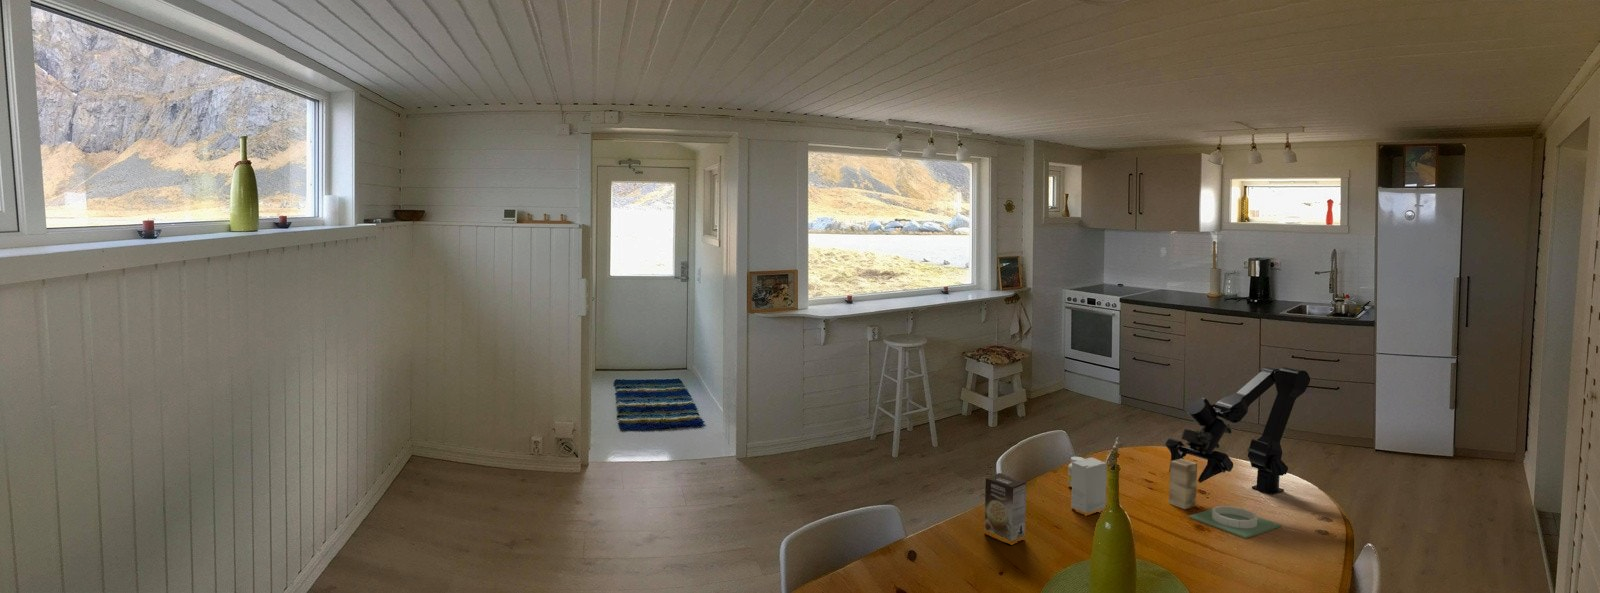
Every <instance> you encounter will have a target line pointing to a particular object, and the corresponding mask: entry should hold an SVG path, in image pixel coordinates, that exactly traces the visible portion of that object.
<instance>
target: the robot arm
mask: <svg viewBox="0 0 1600 593" xmlns="http://www.w3.org/2000/svg"><path fill="white" fill-rule="evenodd" d="M1310 382H1311V377H1310V374H1309V373H1308V372H1307V371H1306V370H1304V369H1298V368H1295V367H1294V368H1292V367H1288V366H1284V367H1281V368H1280V369H1279V368H1274V367H1269V366H1266V367H1262V368H1261V369H1260V370H1259V373H1257V374H1256V375H1255V376H1254V377H1253V378H1252V379H1250V381H1248V382H1247V383H1246V384H1244V386H1243V387H1241V388H1240V389H1239V390H1238V391H1236V392H1235V393H1233V394H1230V395H1226V396H1224V397H1223V398H1221V399H1219V400H1217V401H1216V402H1215V403H1213V404H1211V403H1210V401H1209V400H1208V398H1205V397H1200V398H1199V399H1196V400H1193V401H1191V402H1190V403H1188V404H1187V405H1186V408H1185V411H1186V413H1187V414H1188V415H1189V416H1190V418H1191V419H1192V420H1193V421H1194V422H1195V423H1196V424H1197V425H1198V426H1200V427H1201V428H1200V430H1196V431H1195V430H1191V429H1189V428H1188V429H1187V428H1184V429H1183V433H1182V436H1181V440H1178V439H1174V438H1168V439H1167V440H1166V442H1165V443H1164V445H1165V447H1166V448H1167V450H1168V451H1169V452H1170V461H1169V462H1170V465H1169V467H1170V466H1171V461H1174V460H1178V459H1185V458H1184V457H1186V456H1187V455H1189V456H1193V457H1197V458H1199V459H1204V460H1206V461H1207V462H1206V465H1205V467H1204V468H1203V470H1202V472H1201V473H1200V475H1199V476H1198V477H1199V478H1197V482H1198V483H1200V484H1201V483H1203V482H1205V481H1206V480H1208V479H1211V478H1212V477H1214V476H1216V475H1219V474H1222V473H1226V472H1229V473H1230V472H1232V470H1233V468H1234V462H1233V461H1232V460H1231V458H1230V457H1229V455H1228V453H1225V452H1221V451H1217V450H1215V449H1219V447H1220V444H1219V443H1220V441H1221V439H1222V438H1223V436H1224V434H1229V435H1230V434H1232V429H1231V427H1230V424H1229V423H1233V424H1234V423H1235V424H1237V423H1240V422H1241V421H1242V419H1244V418H1245V416H1246V415H1247V414H1248V412H1249V407H1250V406H1251V404H1253V403H1254V402H1255V401H1256V400H1258V398H1260V396H1262V395H1263V394H1264V393H1265V392H1266V391H1268V390H1269V389H1270V388H1271V387H1272V386H1273V385H1274V384H1275V389H1276V392H1277V393H1276V396H1275V399H1274V401H1273V404H1272V407H1271V410H1270V413H1269V416H1268V417H1267V421H1266V423H1265V425H1264V429H1263V432H1262V434H1261V436H1259V438H1257V439H1254V438H1253V439H1251V441H1250V445H1249V448H1248V449H1247V458H1248V460H1249V462H1250V466H1251V467H1252V468H1254V469H1257V474H1256V484H1255V485H1253V486H1252V485H1251V489H1254V490H1256V491H1260V492H1263V493H1266V494H1269V495H1275V494H1279V493H1282V492H1284V491H1285V489H1284V488H1281V487H1280V477H1281V476H1284V475H1287V473H1288V471H1289V467H1288V466H1287V465H1286V463H1285V462H1284V461H1283V460H1282V457H1283V449H1282V446H1281V440H1282V438H1283V435H1284V432H1285V429H1286V427H1287V424H1288V421H1289V419H1290V416H1291V413H1292V410H1293V407H1294V405H1295V403H1296V400H1297V398H1299V397H1300V396H1302V395H1303V394H1304V393H1305V392H1306V390H1307V389H1308V386H1309V384H1310ZM1225 421H1227V422H1229V423H1226V422H1225ZM1182 440H1185V441H1186V444H1187V446H1189V447H1187V446H1186V445H1185V444H1184V443H1183V442H1182ZM1168 472H1169V473H1170V468H1169V471H1168Z"/></svg>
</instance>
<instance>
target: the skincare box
mask: <svg viewBox="0 0 1600 593" xmlns="http://www.w3.org/2000/svg"><path fill="white" fill-rule="evenodd" d="M1106 463H1107V462H1104V461H1102V460H1100V459H1097V458H1095V457H1088V458H1084V460H1080V461H1076V462H1072V489H1071V492H1070V493H1071V494H1070V495H1071V498H1070V499H1071V501H1070V503H1071V504H1070V506H1071V507H1073V508H1075V509H1077V510H1080V511H1082V512H1085V513H1090V512H1094V511H1096V510H1099V509H1101V508H1102V509H1101V510H1100V512H1099V513H1102V512H1101V511H1102V510H1103V509H1104V507H1105V506H1107V478H1108V477H1107V476H1108V474H1107V473H1108V469H1107V470H1106ZM1071 507H1070V508H1071Z"/></svg>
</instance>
